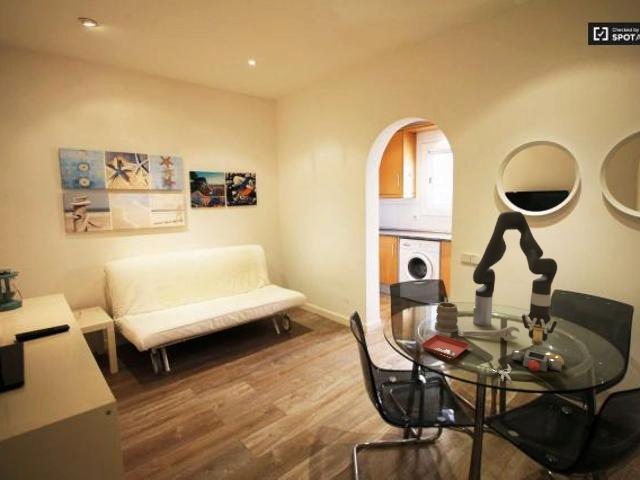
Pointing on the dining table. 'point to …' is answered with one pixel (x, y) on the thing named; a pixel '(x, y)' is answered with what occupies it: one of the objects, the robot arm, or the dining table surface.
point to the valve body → (536, 360)
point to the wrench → (492, 333)
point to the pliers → (505, 373)
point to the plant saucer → (445, 345)
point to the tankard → (446, 317)
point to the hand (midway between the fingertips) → (537, 339)
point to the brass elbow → (555, 357)
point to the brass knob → (537, 335)
